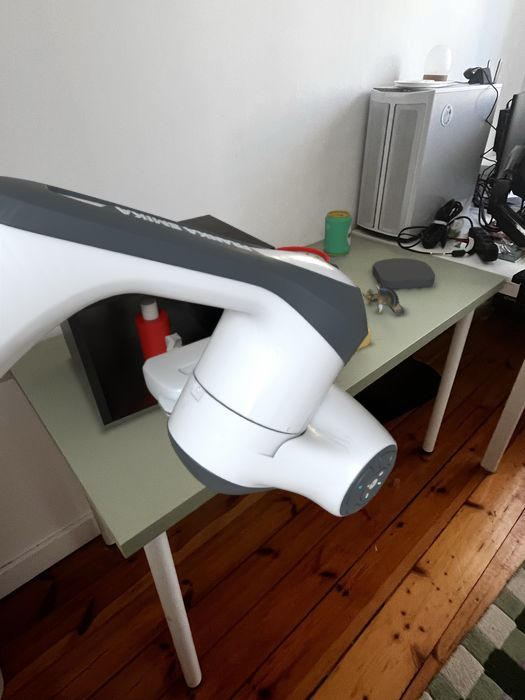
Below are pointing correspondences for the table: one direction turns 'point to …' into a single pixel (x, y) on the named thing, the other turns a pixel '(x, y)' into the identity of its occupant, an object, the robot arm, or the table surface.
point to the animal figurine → (385, 299)
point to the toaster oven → (134, 339)
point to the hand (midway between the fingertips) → (205, 327)
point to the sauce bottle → (152, 328)
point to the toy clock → (306, 252)
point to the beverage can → (337, 232)
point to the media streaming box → (403, 273)
